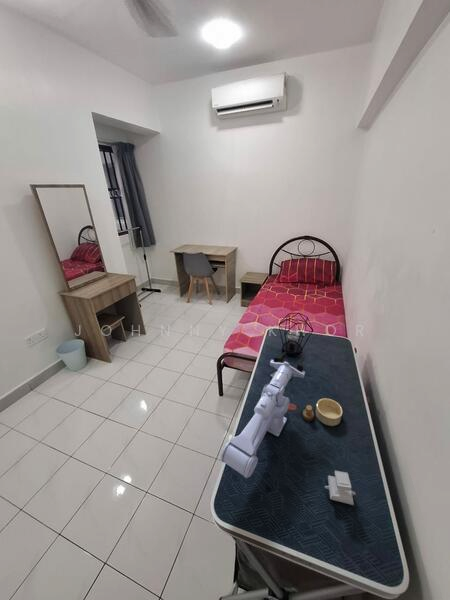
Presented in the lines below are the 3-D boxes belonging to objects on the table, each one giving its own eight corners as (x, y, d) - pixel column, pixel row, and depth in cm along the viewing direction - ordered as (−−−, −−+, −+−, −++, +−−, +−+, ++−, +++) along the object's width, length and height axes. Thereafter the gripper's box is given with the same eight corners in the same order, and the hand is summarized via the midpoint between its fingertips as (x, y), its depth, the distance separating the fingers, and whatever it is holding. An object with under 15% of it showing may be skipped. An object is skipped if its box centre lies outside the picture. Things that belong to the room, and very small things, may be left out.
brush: (311, 422, 100) (313, 413, 97) (301, 417, 102) (302, 408, 100) (314, 414, 103) (316, 406, 101) (304, 410, 105) (305, 401, 103)
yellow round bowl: (337, 430, 96) (339, 422, 94) (312, 418, 101) (313, 411, 99) (342, 412, 103) (344, 404, 101) (319, 402, 109) (320, 394, 107)
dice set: (288, 377, 123) (288, 374, 123) (280, 381, 121) (280, 378, 120) (281, 371, 127) (281, 368, 127) (274, 375, 125) (274, 372, 124)
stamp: (325, 502, 75) (328, 488, 71) (322, 479, 81) (326, 465, 77) (356, 510, 73) (362, 495, 69) (351, 486, 79) (356, 471, 75)
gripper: (300, 377, 90) (311, 354, 99) (265, 363, 98) (278, 344, 107) (299, 389, 94) (310, 366, 103) (265, 375, 101) (278, 355, 111)
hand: (294, 356), depth 105 cm, fingers open, 7 cm apart
